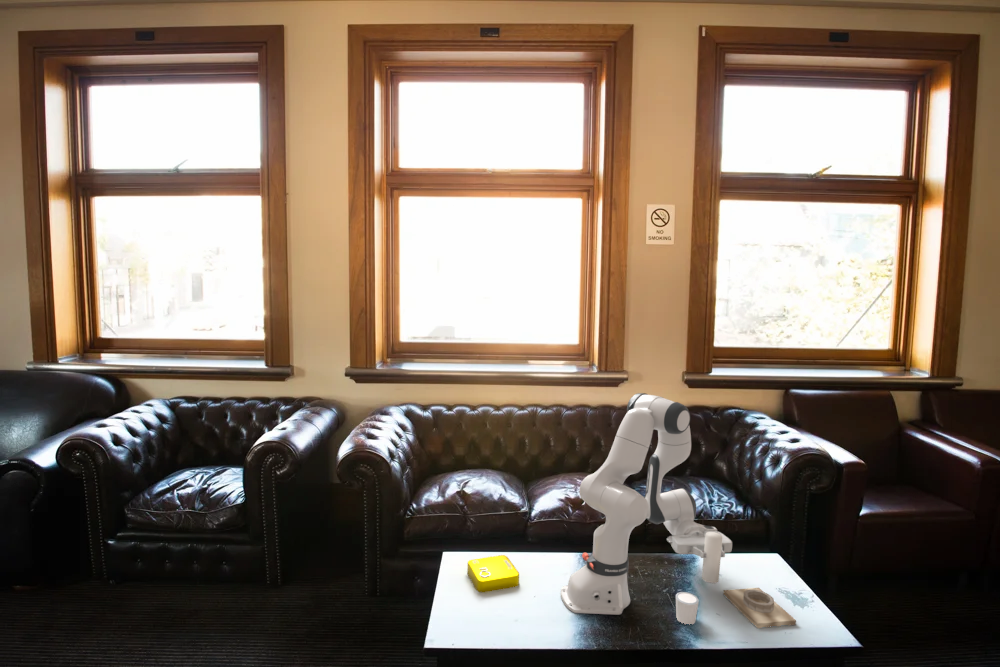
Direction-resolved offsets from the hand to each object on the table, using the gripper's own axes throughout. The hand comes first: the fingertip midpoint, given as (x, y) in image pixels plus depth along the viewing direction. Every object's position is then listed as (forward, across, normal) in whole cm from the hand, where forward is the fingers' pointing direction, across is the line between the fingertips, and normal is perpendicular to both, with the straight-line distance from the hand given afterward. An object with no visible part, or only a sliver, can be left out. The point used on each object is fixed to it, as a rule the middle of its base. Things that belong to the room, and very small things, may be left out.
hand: (713, 555), depth 179 cm
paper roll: (-1, 0, +8) cm, 9 cm away
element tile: (-22, -69, +17) cm, 74 cm away
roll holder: (+7, +13, +15) cm, 21 cm away
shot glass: (+9, -13, +16) cm, 22 cm away
